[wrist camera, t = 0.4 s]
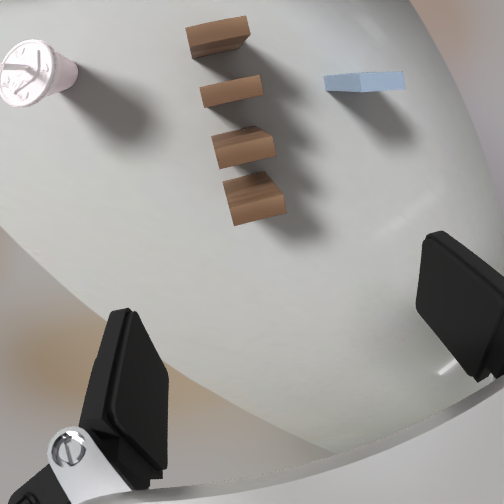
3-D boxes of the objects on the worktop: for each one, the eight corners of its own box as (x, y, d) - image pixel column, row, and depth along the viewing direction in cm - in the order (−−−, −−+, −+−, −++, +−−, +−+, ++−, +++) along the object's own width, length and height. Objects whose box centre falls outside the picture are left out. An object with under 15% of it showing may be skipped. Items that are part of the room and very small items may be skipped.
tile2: (188, 44, 29) (185, 27, 21) (234, 34, 29) (246, 15, 21) (192, 58, 29) (189, 46, 22) (237, 48, 30) (250, 34, 22)
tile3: (199, 89, 31) (199, 87, 23) (244, 79, 31) (259, 74, 24) (203, 104, 32) (204, 107, 24) (248, 94, 32) (264, 94, 24)
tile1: (323, 76, 32) (359, 73, 24) (361, 72, 32) (403, 71, 25) (326, 90, 33) (362, 92, 25) (363, 86, 33) (405, 89, 25)
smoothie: (99, 66, 28) (45, 54, 16) (66, 111, 29) (2, 127, 17) (62, 39, 25) (-2, 21, 13) (31, 85, 27) (-41, 91, 14)
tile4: (211, 136, 34) (214, 149, 26) (255, 125, 34) (272, 136, 26) (215, 151, 35) (219, 169, 27) (258, 141, 35) (276, 156, 27)
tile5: (222, 181, 37) (229, 208, 29) (264, 171, 37) (283, 194, 29) (226, 195, 37) (234, 226, 30) (267, 185, 38) (286, 212, 30)
